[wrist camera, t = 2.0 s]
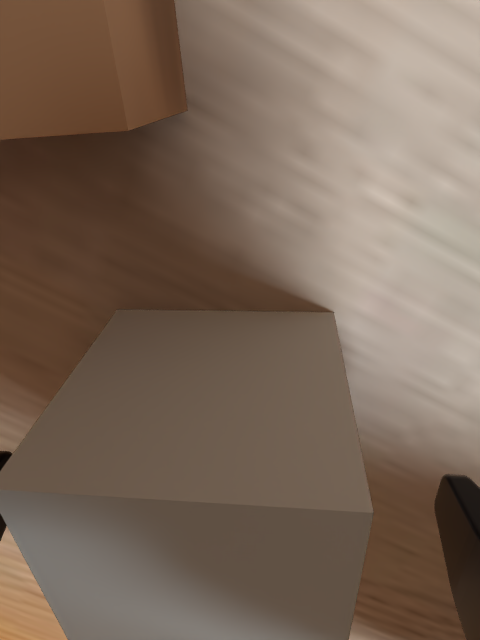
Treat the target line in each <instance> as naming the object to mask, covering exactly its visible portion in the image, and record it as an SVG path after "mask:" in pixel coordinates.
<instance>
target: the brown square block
mask: <svg viewBox="0 0 480 640" xmlns="http://www.w3.org/2000/svg"><path fill="white" fill-rule="evenodd" d="M184 111H187V102H186V93H185V85H184V77H183V69H182V61H181V52H180V44H179V36H178V28H177V19H176V11H175V3H174V0H0V140H3V139H17V138H32V137H46V136H60V135H74V134H88V133H102V132H116V131H129V130H132V129H135V128H138V127H140V126H143V125H146V124H149V123H152V122H155V121H158V120H161V119H164V118H167V117H170V116H173V115H176V114H179V113H182V112H184Z"/></svg>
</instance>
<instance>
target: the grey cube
mask: <svg viewBox="0 0 480 640" xmlns="http://www.w3.org/2000/svg"><path fill="white" fill-rule="evenodd" d="M0 514H1V516H2V517H3V519H4V521H5V523H6V525H7V527H8V529H9V530H10V532H11V534H12V536H13V538H14V540H15V542H16V543H17V545H18V547H19V549H20V551H21V553H22V555H23V557H24V558H25V560H26V562H27V564H28V566H29V568H30V570H31V571H32V573H33V575H34V577H35V579H36V581H37V583H38V584H39V586H40V588H41V590H42V592H43V594H44V596H45V598H46V599H47V601H48V603H49V605H50V607H51V609H52V611H53V612H54V614H55V616H56V618H57V620H58V622H59V624H60V625H61V627H62V629H63V631H64V633H65V635H66V637H67V639H68V640H349V635H350V630H351V625H352V620H353V615H354V610H355V605H356V600H357V595H358V590H359V585H360V579H361V574H362V569H363V564H364V559H365V554H366V549H367V544H368V539H369V534H370V529H371V524H372V519H373V514H374V512H373V507H372V502H371V497H370V492H369V487H368V482H367V477H366V472H365V467H364V462H363V457H362V451H361V446H360V441H359V436H358V431H357V426H356V421H355V416H354V411H353V406H352V401H351V396H350V391H349V386H348V381H347V376H346V371H345V366H344V361H343V356H342V351H341V346H340V341H339V336H338V331H337V326H336V321H335V316H334V312H284V311H205V310H126V309H117V311H116V312H115V314H114V315H113V316H112V318H111V319H110V320H109V322H108V323H107V325H106V326H105V327H104V329H103V330H102V331H101V333H100V334H99V336H98V337H97V338H96V340H95V341H94V343H93V344H92V345H91V347H90V348H89V349H88V351H87V352H86V354H85V355H84V356H83V358H82V359H81V360H80V362H79V363H78V365H77V366H76V367H75V369H74V370H73V371H72V373H71V374H70V376H69V377H68V378H67V380H66V381H65V383H64V384H63V385H62V387H61V388H60V389H59V391H58V392H57V394H56V395H55V396H54V398H53V399H52V400H51V402H50V403H49V405H48V406H47V407H46V409H45V410H44V412H43V413H42V414H41V416H40V417H39V418H38V420H37V421H36V423H35V424H34V425H33V427H32V428H31V429H30V431H29V432H28V434H27V435H26V436H25V438H24V439H23V440H22V442H21V443H20V445H19V446H18V447H17V449H16V450H15V452H14V453H13V454H12V456H11V457H10V458H9V460H8V461H7V463H6V464H5V465H4V467H3V468H2V469H1V471H0Z"/></svg>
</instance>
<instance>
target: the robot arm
mask: <svg viewBox="0 0 480 640" xmlns="http://www.w3.org/2000/svg"><path fill="white" fill-rule="evenodd" d="M11 456H12V453H11V452H8V451H0V471H1V469H2V468H3V467H4V465H5V464H6V463H7V461H8V460H9V458H10V457H11ZM435 514H436V519H437V524H438V529H439V533H440V538H441V543H442V548H443V553H444V557H445V562H446V567H447V572H448V576H449V581H450V586H451V590H452V594H453V598H454V601H455V605H456V608H457V611H458V615H459V618H460V621H461V624H462V627H463V630H464V633H465V637H466V640H480V488H479V487H478V486H477V485H476V484H475V483H474V482H473V481H472V480H471V479H470V478H469V477H467V476H465V475H454V474H446V475H444V476H443V477H442V479H441V482H440V486H439V489H438V492H437V495H436V499H435ZM6 526H7V525H6V523H5V521H4V519H3V517H2V516H1V514H0V541H1V538H2V536H3V533H4V531H5V528H6Z"/></svg>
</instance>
